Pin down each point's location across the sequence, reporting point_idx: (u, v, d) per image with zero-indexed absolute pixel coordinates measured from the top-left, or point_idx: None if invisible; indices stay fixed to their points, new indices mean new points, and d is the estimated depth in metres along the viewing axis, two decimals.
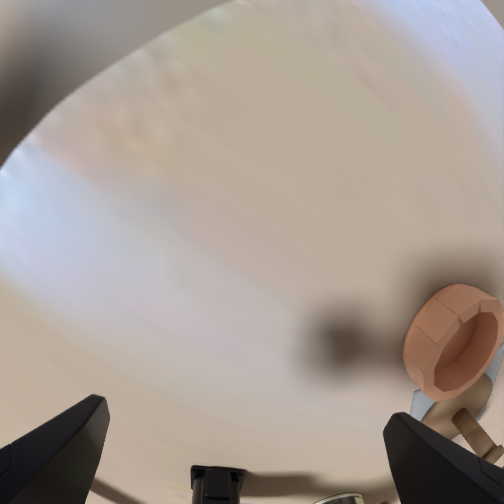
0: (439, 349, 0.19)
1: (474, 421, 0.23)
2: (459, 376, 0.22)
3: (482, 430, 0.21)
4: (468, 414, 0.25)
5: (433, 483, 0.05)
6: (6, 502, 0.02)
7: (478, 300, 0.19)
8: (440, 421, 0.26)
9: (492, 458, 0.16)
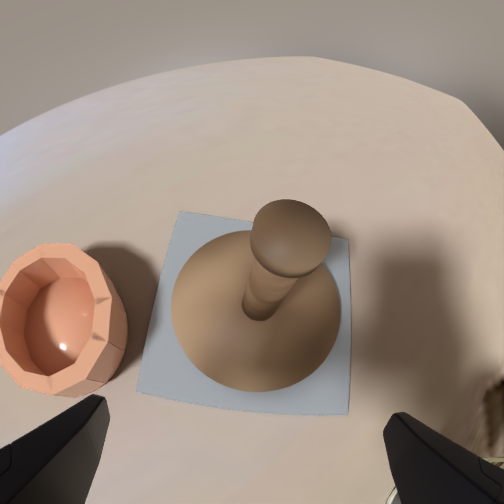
0: (4, 358, 0.13)
1: None
2: None
3: None
4: None
5: (433, 483, 0.05)
6: (6, 502, 0.02)
7: None
8: (239, 348, 0.20)
9: (262, 245, 0.12)
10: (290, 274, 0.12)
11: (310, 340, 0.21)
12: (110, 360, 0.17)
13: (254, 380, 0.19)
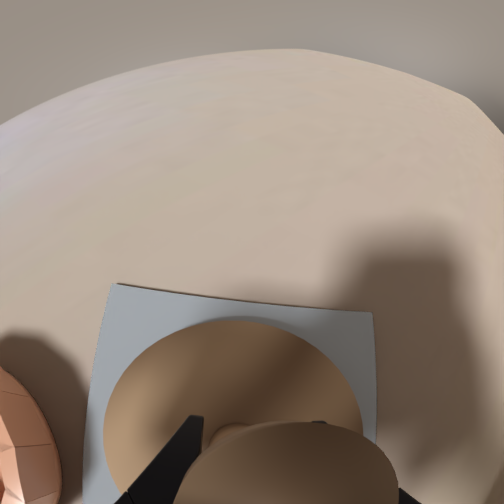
0: None
1: (211, 445, 0.09)
2: None
3: None
4: (211, 441, 0.10)
5: None
6: None
7: None
8: None
9: None
10: None
11: None
12: None
13: None
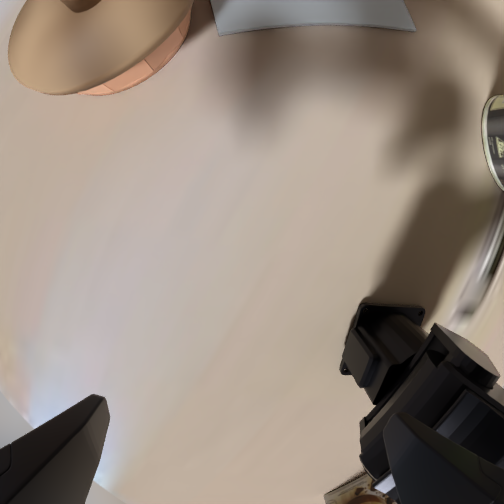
0: None
1: None
2: None
3: None
4: None
5: (433, 483, 0.05)
6: (6, 502, 0.02)
7: None
8: (99, 31, 0.10)
9: None
10: None
11: None
12: None
13: (138, 34, 0.10)
